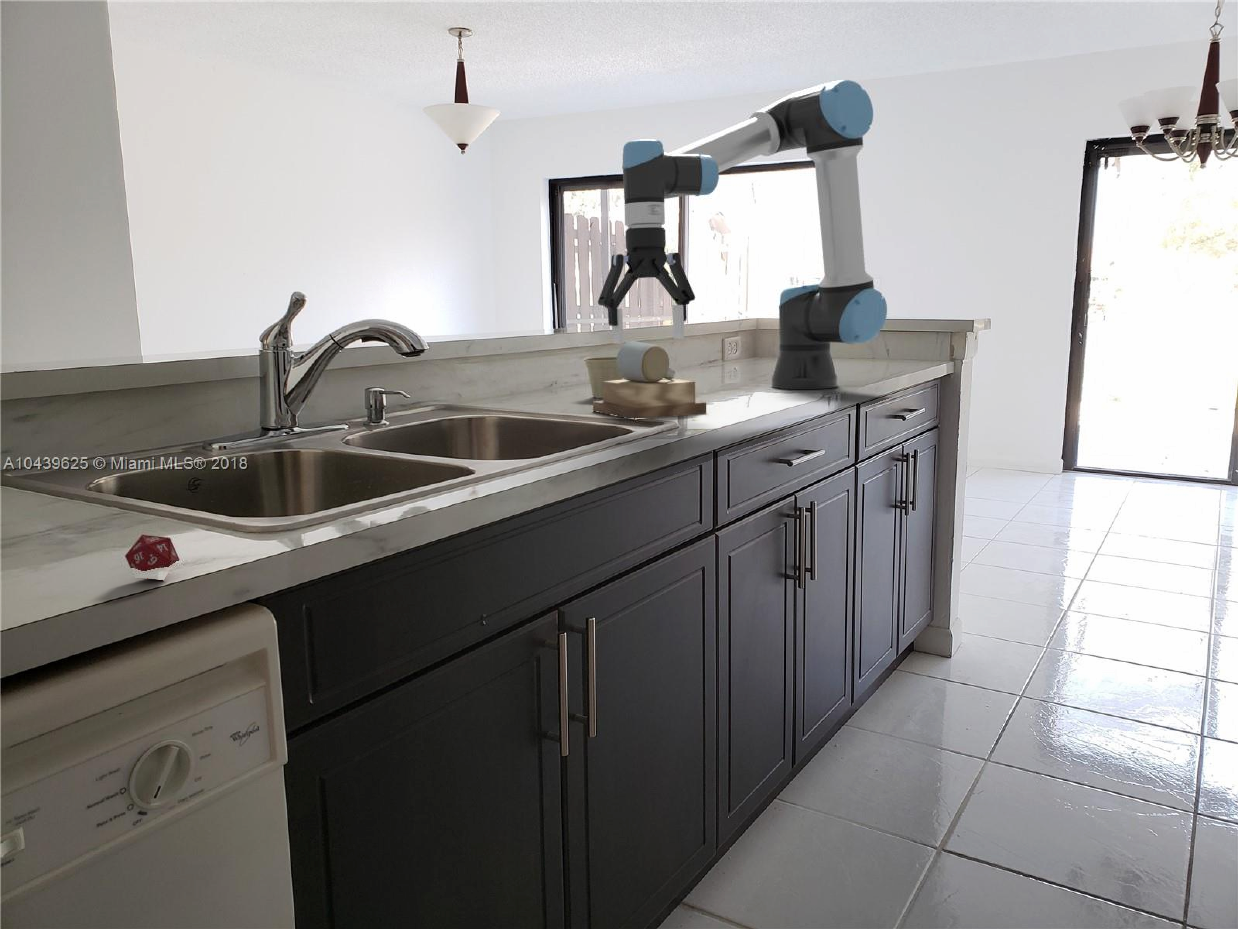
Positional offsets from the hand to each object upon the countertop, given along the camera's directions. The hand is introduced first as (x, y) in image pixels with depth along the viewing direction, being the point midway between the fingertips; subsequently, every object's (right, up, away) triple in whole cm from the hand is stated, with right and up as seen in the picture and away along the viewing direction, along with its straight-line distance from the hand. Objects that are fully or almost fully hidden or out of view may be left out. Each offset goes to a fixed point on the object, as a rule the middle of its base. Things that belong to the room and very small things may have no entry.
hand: (648, 341), depth 180 cm
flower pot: (-9, -9, +29) cm, 32 cm away
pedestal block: (0, -11, +2) cm, 12 cm away
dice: (-46, -34, -98) cm, 114 cm away
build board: (0, -13, +2) cm, 14 cm away
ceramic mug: (0, -8, +1) cm, 8 cm away
